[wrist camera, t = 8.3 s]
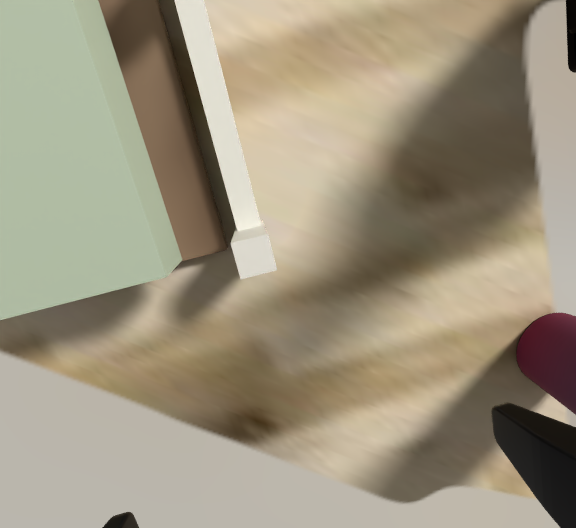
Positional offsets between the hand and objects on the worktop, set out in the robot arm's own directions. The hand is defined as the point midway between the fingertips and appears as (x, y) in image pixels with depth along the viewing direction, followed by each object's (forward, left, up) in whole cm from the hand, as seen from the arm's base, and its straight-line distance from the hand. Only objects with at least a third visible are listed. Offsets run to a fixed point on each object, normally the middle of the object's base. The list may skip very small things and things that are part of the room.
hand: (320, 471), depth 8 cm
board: (+7, -11, -8) cm, 15 cm away
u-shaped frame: (0, -11, -12) cm, 16 cm away
